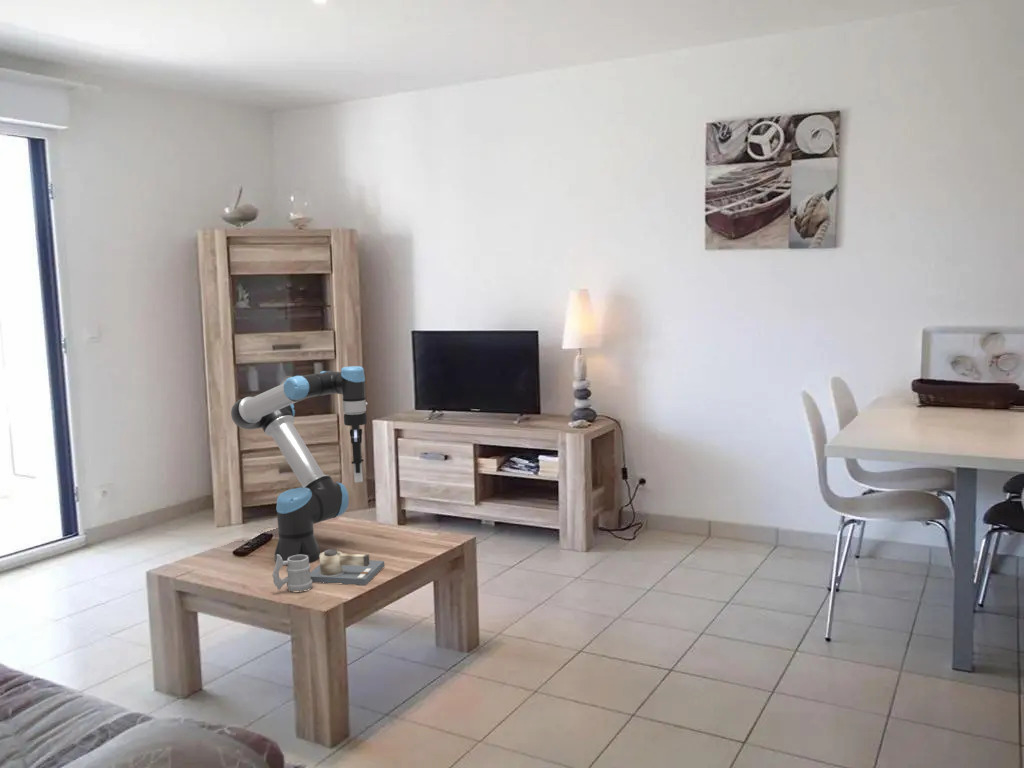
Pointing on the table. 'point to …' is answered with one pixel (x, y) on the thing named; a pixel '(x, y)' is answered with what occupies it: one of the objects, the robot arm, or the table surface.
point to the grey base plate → (349, 574)
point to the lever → (340, 561)
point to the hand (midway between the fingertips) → (358, 481)
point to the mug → (293, 573)
